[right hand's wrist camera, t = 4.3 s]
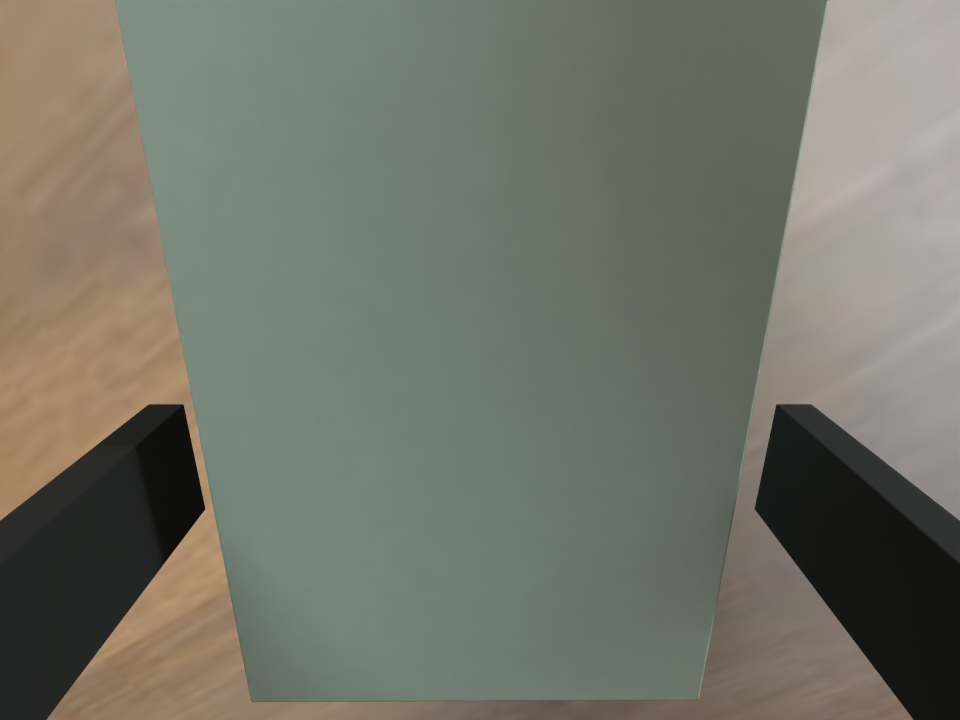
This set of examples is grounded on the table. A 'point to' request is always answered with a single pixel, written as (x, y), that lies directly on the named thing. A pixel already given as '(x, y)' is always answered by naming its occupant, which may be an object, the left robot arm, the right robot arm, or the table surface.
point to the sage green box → (473, 323)
